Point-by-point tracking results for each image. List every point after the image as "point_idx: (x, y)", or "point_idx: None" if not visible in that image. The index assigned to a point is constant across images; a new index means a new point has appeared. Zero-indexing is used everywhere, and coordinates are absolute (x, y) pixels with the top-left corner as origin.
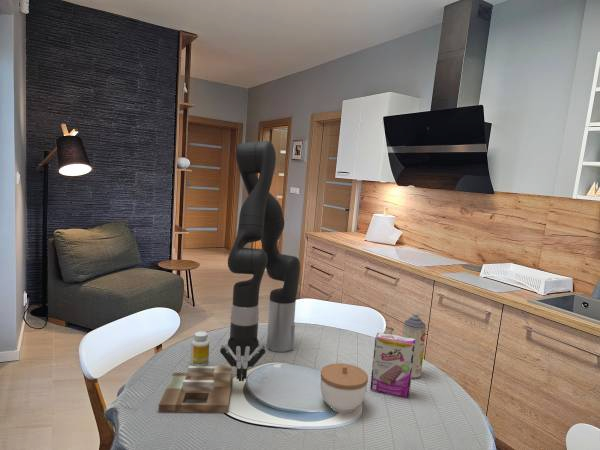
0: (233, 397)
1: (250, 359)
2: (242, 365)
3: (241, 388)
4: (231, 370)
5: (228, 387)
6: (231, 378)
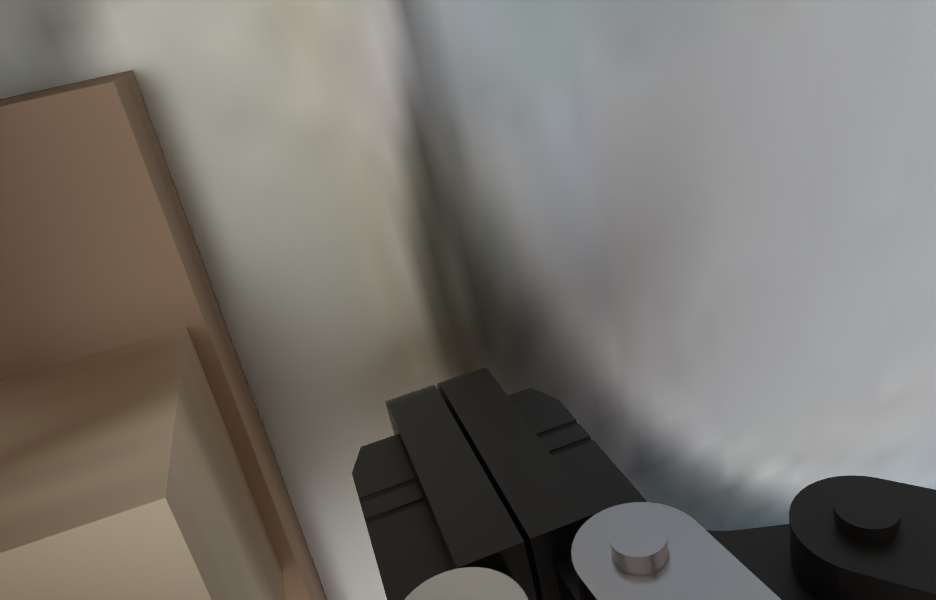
0: (359, 546)
1: (870, 591)
2: (533, 538)
3: (395, 299)
4: (186, 456)
5: None
6: (184, 303)
